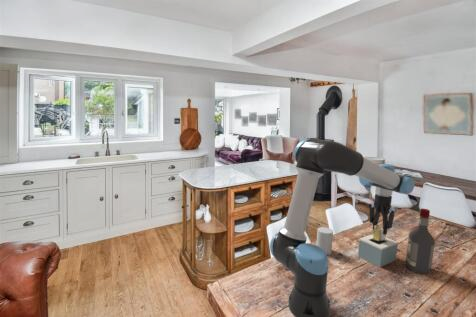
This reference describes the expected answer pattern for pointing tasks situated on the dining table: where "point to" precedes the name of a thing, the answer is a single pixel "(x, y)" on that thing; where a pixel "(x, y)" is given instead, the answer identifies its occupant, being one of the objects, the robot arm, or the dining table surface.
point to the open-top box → (377, 250)
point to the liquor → (420, 246)
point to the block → (377, 233)
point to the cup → (325, 239)
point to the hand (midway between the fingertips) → (378, 238)
